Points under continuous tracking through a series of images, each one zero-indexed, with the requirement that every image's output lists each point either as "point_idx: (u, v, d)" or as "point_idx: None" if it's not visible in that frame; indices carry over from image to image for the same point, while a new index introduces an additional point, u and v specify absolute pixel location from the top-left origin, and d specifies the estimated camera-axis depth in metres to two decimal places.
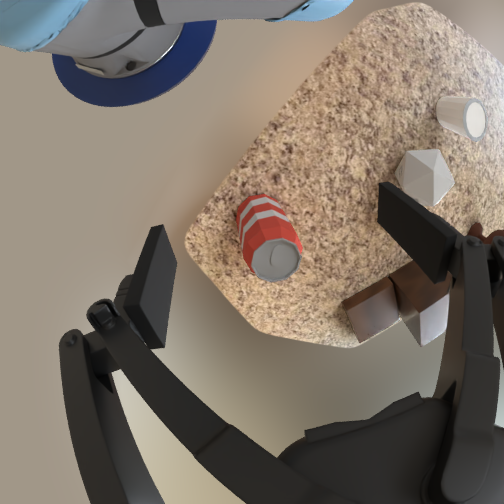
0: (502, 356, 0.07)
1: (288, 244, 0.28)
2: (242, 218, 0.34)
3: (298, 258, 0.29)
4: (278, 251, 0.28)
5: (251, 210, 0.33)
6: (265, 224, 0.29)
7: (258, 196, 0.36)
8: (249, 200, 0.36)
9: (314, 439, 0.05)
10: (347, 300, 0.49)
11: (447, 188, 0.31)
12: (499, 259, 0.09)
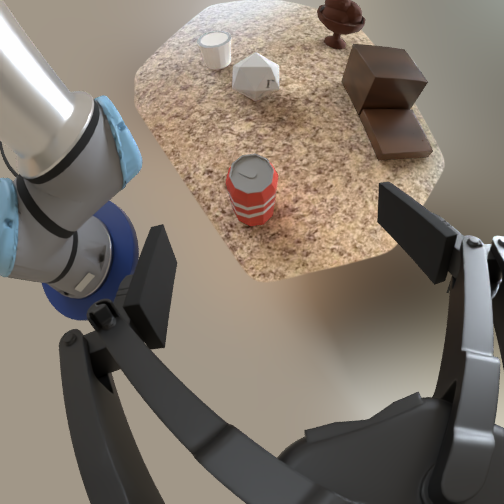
0: (502, 356, 0.07)
1: (241, 162, 0.32)
2: (235, 210, 0.38)
3: (258, 157, 0.32)
4: (243, 170, 0.32)
5: (231, 201, 0.39)
6: None
7: None
8: None
9: (314, 439, 0.05)
10: (376, 153, 0.44)
11: (258, 57, 0.41)
12: (499, 259, 0.09)
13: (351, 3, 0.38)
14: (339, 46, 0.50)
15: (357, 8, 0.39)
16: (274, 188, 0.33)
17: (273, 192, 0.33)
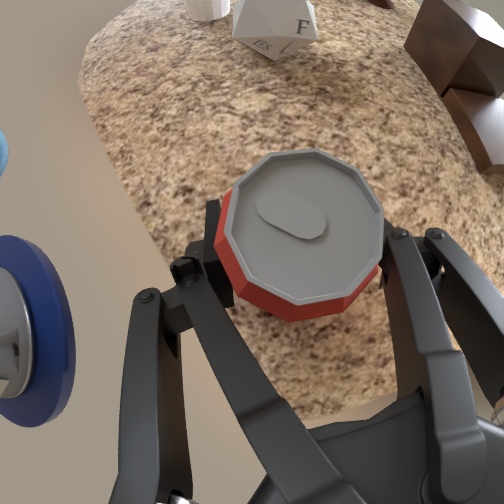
0: (464, 351, 0.08)
1: (266, 176, 0.09)
2: None
3: (324, 162, 0.09)
4: (277, 207, 0.09)
5: None
6: None
7: None
8: None
9: (314, 439, 0.05)
10: (477, 162, 0.21)
11: None
12: (438, 254, 0.10)
13: None
14: (387, 5, 0.27)
15: None
16: (375, 269, 0.09)
17: (369, 280, 0.10)
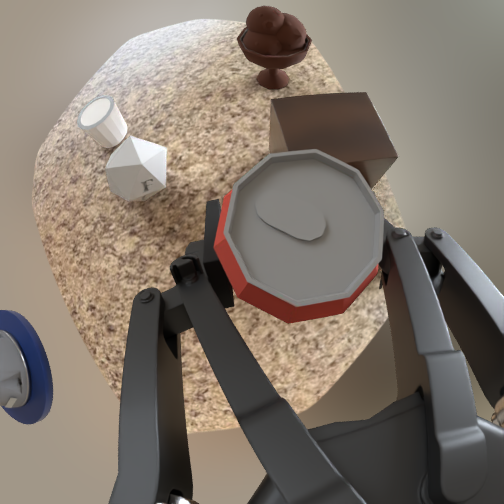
0: (464, 351, 0.08)
1: (266, 177, 0.09)
2: None
3: (324, 162, 0.09)
4: (276, 208, 0.09)
5: None
6: None
7: None
8: None
9: (314, 439, 0.05)
10: None
11: (131, 145, 0.31)
12: (438, 254, 0.10)
13: (285, 19, 0.28)
14: (277, 85, 0.40)
15: (295, 26, 0.29)
16: (375, 271, 0.09)
17: (369, 281, 0.10)
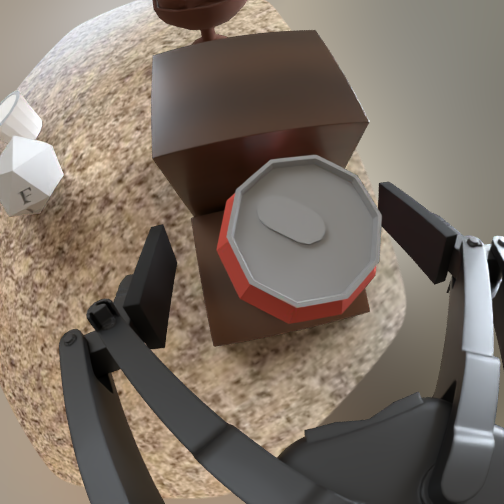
0: (502, 356, 0.07)
1: (267, 182, 0.10)
2: None
3: (324, 168, 0.10)
4: (277, 212, 0.09)
5: None
6: None
7: None
8: None
9: (314, 439, 0.05)
10: None
11: (10, 148, 0.18)
12: (499, 259, 0.09)
13: None
14: None
15: None
16: (373, 273, 0.10)
17: None
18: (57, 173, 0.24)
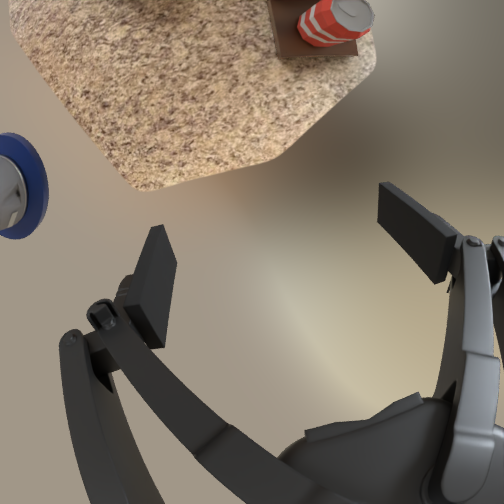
0: (502, 356, 0.07)
1: None
2: (311, 33, 0.26)
3: None
4: (344, 6, 0.19)
5: (306, 23, 0.25)
6: (318, 9, 0.21)
7: (299, 20, 0.28)
8: (299, 26, 0.28)
9: (314, 439, 0.05)
10: (277, 51, 0.33)
11: None
12: (499, 259, 0.09)
13: None
14: None
15: None
16: (369, 30, 0.22)
17: (366, 32, 0.22)
18: None
